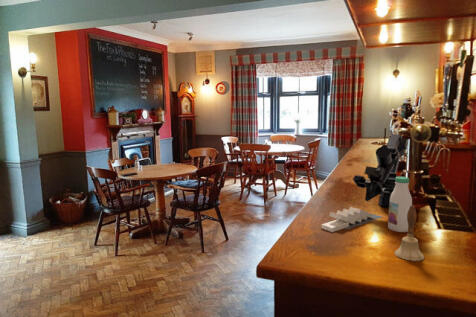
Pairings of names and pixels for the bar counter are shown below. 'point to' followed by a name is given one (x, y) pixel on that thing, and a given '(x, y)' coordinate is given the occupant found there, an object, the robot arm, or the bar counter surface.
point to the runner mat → (363, 221)
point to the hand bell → (410, 240)
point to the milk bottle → (399, 205)
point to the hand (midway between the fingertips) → (366, 200)
